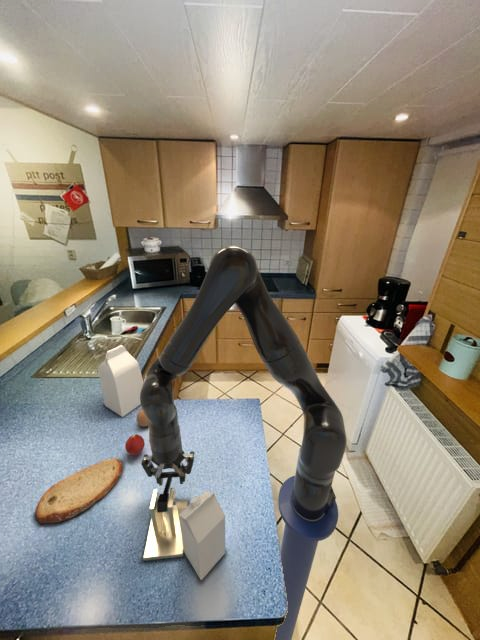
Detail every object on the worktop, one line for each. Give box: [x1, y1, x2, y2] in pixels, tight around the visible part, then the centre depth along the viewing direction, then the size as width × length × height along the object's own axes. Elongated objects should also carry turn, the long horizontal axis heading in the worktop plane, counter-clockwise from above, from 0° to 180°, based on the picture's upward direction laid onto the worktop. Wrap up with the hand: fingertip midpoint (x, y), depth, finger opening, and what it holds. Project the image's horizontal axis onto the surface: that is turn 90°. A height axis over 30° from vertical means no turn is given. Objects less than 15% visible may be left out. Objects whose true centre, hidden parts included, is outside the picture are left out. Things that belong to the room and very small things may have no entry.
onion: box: [124, 434, 145, 456], centre depth 82 cm, size 6×6×8 cm
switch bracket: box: [142, 487, 189, 562], centre depth 61 cm, size 12×9×13 cm
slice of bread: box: [35, 458, 123, 524], centre depth 72 cm, size 18×18×4 cm
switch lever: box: [157, 470, 179, 512], centre depth 64 cm, size 12×5×2 cm, turn 5°
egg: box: [136, 408, 148, 427], centre depth 93 cm, size 5×5×7 cm
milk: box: [97, 344, 144, 418], centre depth 99 cm, size 12×12×26 cm
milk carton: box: [179, 491, 226, 581], centre depth 56 cm, size 7×7×19 cm
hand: (171, 481), depth 70 cm, fingers closed on switch lever, 5 cm apart
